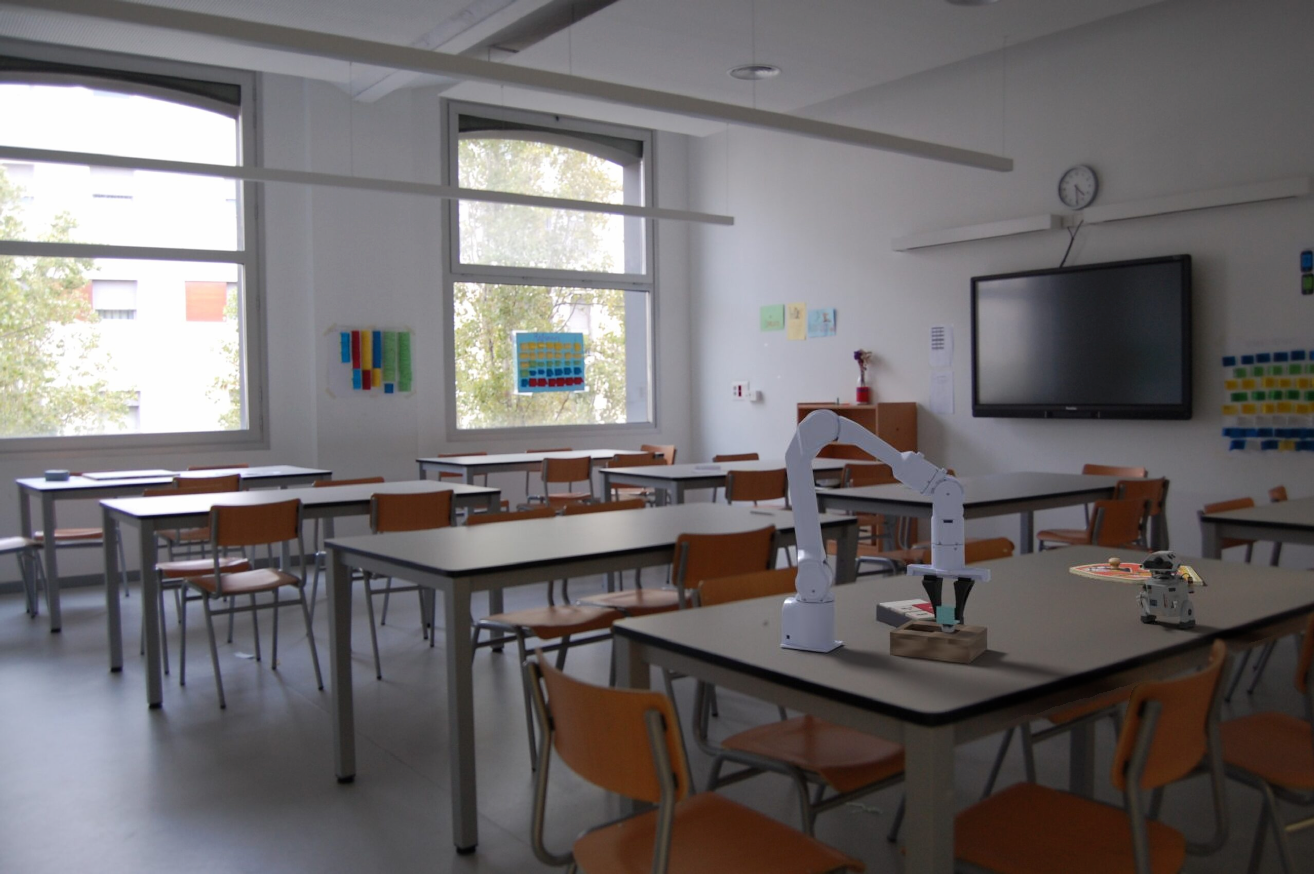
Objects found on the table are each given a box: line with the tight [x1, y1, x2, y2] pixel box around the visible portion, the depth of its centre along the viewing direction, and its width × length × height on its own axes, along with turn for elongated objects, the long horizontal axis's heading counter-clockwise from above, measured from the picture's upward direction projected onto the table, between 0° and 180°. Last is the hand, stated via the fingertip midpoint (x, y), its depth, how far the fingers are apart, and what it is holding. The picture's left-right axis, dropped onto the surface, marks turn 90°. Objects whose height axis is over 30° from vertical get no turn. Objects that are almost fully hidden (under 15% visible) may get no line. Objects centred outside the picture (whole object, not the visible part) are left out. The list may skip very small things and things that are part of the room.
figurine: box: [1135, 550, 1197, 631], centre depth 201 cm, size 9×12×15 cm
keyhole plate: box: [889, 620, 988, 665], centre depth 184 cm, size 14×12×4 cm
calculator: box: [875, 598, 965, 628], centre depth 207 cm, size 11×4×15 cm
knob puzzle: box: [1069, 557, 1204, 587], centre depth 261 cm, size 29×30×4 cm
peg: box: [937, 603, 960, 633], centre depth 183 cm, size 4×4×8 cm
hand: (948, 618), depth 183 cm, fingers closed on peg, 3 cm apart
